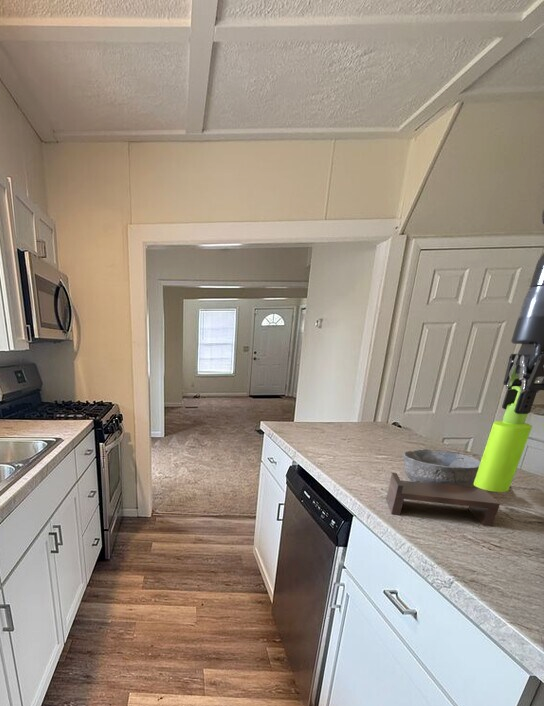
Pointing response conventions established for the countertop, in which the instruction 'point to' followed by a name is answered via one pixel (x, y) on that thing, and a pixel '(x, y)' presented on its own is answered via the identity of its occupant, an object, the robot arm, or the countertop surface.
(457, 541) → the countertop surface
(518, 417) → the soap dispenser
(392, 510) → the shelf
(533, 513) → the countertop surface
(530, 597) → the countertop surface
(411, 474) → the bowl
